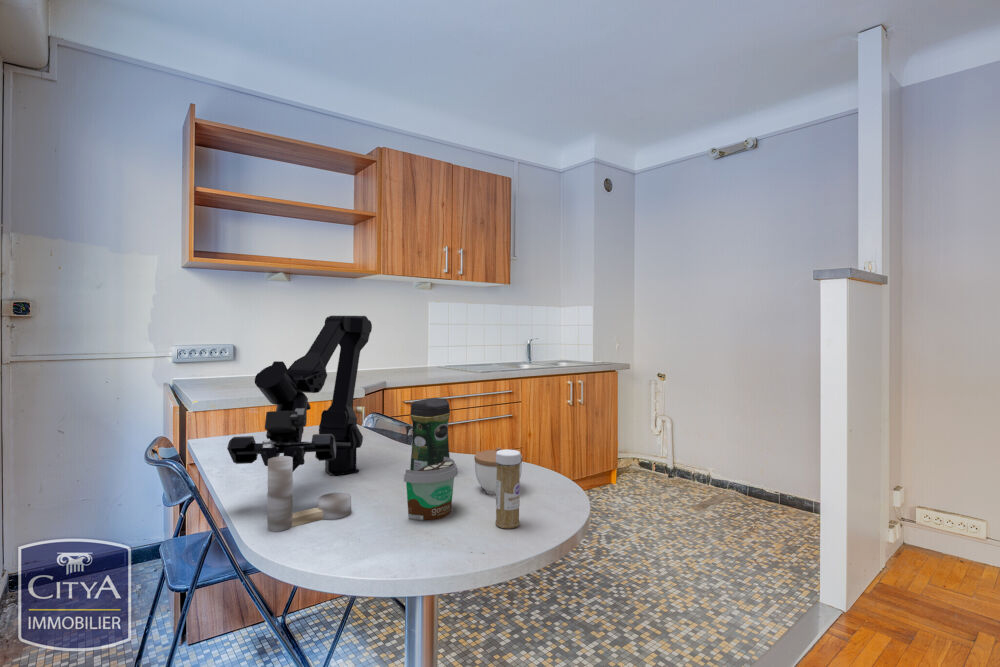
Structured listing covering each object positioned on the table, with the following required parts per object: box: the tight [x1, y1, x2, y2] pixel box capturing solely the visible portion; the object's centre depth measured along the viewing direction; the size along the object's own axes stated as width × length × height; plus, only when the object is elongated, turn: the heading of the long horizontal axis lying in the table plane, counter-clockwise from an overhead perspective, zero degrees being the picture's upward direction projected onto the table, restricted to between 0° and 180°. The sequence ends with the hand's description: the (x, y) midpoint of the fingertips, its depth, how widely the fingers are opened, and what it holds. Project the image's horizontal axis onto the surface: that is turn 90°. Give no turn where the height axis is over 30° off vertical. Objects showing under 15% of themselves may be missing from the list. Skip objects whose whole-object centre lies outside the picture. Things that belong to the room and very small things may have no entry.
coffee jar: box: [409, 397, 451, 471], centre depth 124 cm, size 10×8×19 cm
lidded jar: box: [473, 447, 524, 495], centre depth 113 cm, size 11×11×9 cm
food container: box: [403, 457, 459, 522], centre depth 96 cm, size 12×6×10 cm, turn 148°
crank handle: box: [266, 455, 352, 533], centre depth 93 cm, size 15×6×12 cm, turn 132°
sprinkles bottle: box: [494, 449, 522, 530], centre depth 94 cm, size 5×5×14 cm
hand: (276, 489), depth 92 cm, fingers closed
